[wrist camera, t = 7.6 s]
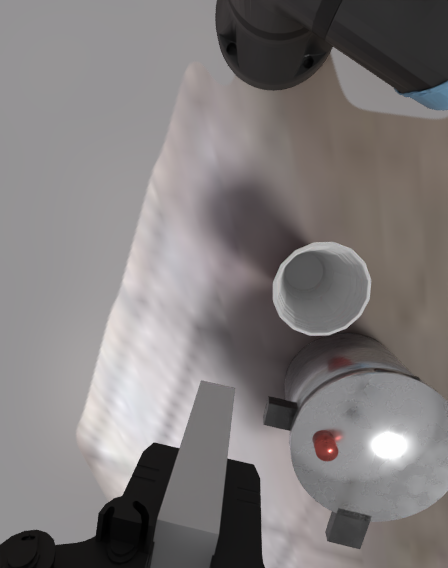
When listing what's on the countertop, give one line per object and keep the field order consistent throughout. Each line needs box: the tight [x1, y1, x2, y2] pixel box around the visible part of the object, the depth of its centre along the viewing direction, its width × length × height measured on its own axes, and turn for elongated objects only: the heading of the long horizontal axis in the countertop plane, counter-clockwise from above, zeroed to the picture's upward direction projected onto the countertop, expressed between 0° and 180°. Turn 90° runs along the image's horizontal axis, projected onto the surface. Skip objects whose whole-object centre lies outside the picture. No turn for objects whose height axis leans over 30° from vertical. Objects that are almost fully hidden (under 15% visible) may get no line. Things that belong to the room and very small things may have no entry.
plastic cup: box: [273, 242, 371, 336], centre depth 41 cm, size 11×11×12 cm
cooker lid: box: [289, 368, 448, 549], centre depth 37 cm, size 23×19×4 cm
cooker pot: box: [263, 333, 414, 431], centre depth 44 cm, size 18×25×12 cm
